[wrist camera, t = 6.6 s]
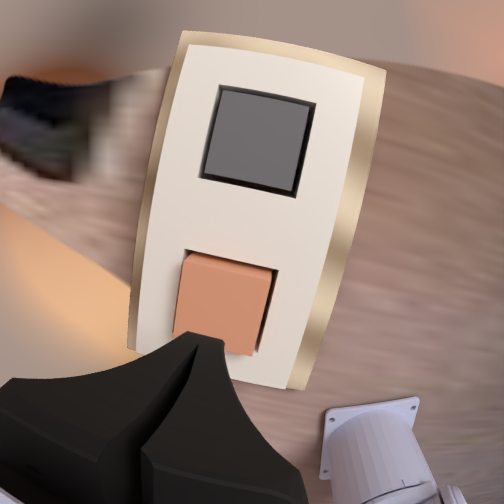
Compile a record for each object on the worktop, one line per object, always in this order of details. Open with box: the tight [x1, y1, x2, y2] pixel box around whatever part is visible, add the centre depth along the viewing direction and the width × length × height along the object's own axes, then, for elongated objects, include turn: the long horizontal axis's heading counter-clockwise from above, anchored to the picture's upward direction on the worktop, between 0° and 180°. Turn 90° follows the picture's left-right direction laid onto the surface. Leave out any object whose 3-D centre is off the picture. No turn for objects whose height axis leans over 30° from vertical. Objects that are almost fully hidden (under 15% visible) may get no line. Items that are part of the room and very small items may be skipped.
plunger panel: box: [136, 44, 364, 389], centre depth 17 cm, size 17×9×4 cm, turn 168°
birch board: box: [127, 31, 386, 391], centre depth 19 cm, size 22×13×1 cm, turn 168°
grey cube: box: [204, 90, 309, 191], centre depth 16 cm, size 4×4×4 cm
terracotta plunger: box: [173, 251, 272, 357], centre depth 17 cm, size 4×4×4 cm
